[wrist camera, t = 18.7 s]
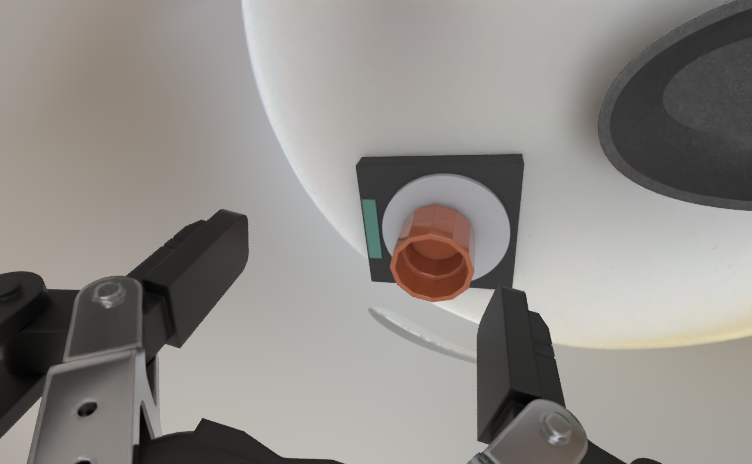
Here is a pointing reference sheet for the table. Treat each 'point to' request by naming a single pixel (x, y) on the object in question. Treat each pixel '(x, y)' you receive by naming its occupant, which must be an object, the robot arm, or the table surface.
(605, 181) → the table surface
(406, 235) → the small bowl
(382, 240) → the scale
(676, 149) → the bowl
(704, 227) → the table surface
